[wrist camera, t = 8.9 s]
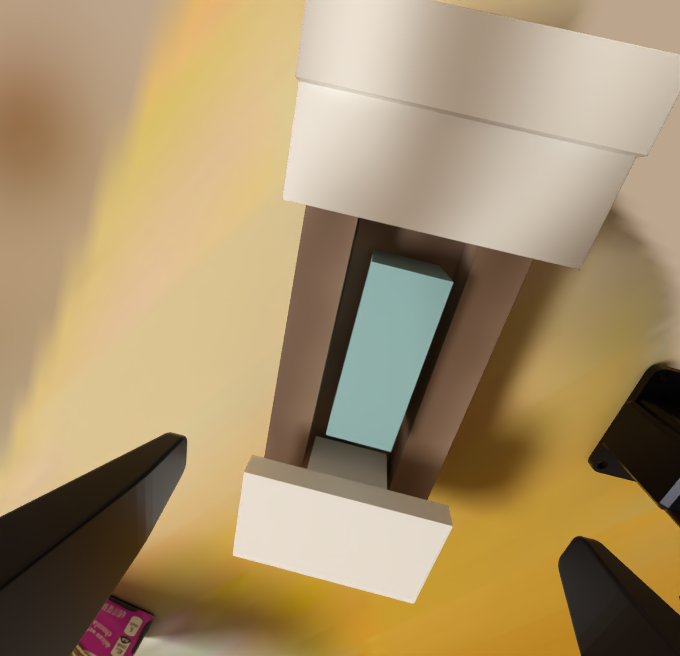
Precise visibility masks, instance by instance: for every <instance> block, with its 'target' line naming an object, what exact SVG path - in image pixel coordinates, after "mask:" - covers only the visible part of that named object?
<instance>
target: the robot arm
mask: <svg viewBox="0 0 680 656" xmlns="http://www.w3.org/2000/svg"><path fill="white" fill-rule="evenodd" d="M660 374H662V375H661V376H660V377H659V378H657V376H659V375H660ZM656 378H657V379H656ZM186 455H187V438H186V437H185V436H183V435H179V434H175V433H171V432H169V433H166V434H163V435H161V436H159V437H157V438H156V439H154V440H152V441H150V442H148V443H146V444H144V445H142V446H140V447H138V448H136V449H134V450H132V451H130V452H128V453H126V454H124V455H122V456H120V457H118V458H116V459H114V460H112V461H110V462H108V463H106V464H104V465H102V466H100V467H98V468H96V469H94V470H92V471H90V472H88V473H86V474H84V475H82V476H80V477H78V478H76V479H74V480H72V481H70V482H68V483H66V484H64V485H62V486H60V487H58V488H57V489H55V490H53V491H51V492H49V493H47V494H45V495H43V496H41V497H39V498H37V499H35V500H33V501H31V502H29V503H27V504H25V505H23V506H21V507H19V508H17V509H15V510H13V511H11V512H9V513H7V514H5V515H3V516H1V517H0V656H70V655H71V654H72V652H73V651H74V649H75V648H76V646H77V645H78V643H79V642H80V640H81V639H82V637H83V636H84V634H85V633H86V631H87V630H88V628H89V627H90V625H91V624H92V622H93V621H94V619H95V618H96V616H97V615H98V613H99V612H100V610H101V609H102V607H103V606H104V604H105V603H106V601H107V600H108V598H109V597H110V595H111V594H112V592H113V591H114V589H115V588H116V586H117V585H118V583H119V582H120V580H121V579H122V577H123V576H124V574H125V573H126V571H127V570H128V568H129V567H130V565H131V564H132V562H133V561H134V559H135V558H136V556H137V555H138V553H139V551H140V550H141V548H142V547H143V545H144V544H145V542H146V540H147V539H148V537H149V535H150V533H151V532H152V530H153V528H154V526H155V524H156V522H157V520H158V519H159V517H160V515H161V513H162V511H163V509H164V507H165V506H166V504H167V502H168V500H169V498H170V496H171V494H172V493H173V491H174V489H175V487H176V485H177V483H178V481H179V480H180V478H181V476H182V474H183V472H184V469H185V466H186ZM600 462H601V463H600ZM588 463H589V464H590V466H591V467H592V468H593V469H594V470H595V471H596V472H599V473H603V474H607V475H611V476H615V477H619V478H623V479H627V480H631V481H635V482H637V483H638V484H639V485H640V487H641V488H642V489H643V490H644V491H645V492H646V493H647V494H648V496H649V497H650V498H651V499H652V500H653V501H654V502H655V503H656V505H657V506H658V507H659V508H661V509H663V510H665V512H666V513H667V514H668V515H669V516H670V517H671V518H672V519H673V521H674V522H675V523H676V524H677V525H678V526H679V527H680V370H678V369H674V368H670V367H666V366H662V365H656V366H652V367H651V368H649V369H648V370H647V371H646V372H645V373H644V375H643V376H642V378H641V379H640V381H639V382H638V384H637V385H636V387H635V389H634V390H633V392H632V393H631V395H630V396H629V398H628V399H627V401H626V402H625V404H624V405H623V407H622V408H621V410H620V411H619V413H618V414H617V416H616V417H615V419H614V420H613V422H612V423H611V425H610V427H609V428H608V430H607V431H606V433H605V434H604V436H603V437H602V439H601V440H600V442H599V443H598V445H597V446H596V448H595V449H594V451H593V452H592V454H591V455H590V457H589V459H588ZM558 567H559V573H560V577H561V581H562V585H563V589H564V592H565V596H566V600H567V604H568V608H569V612H570V616H571V620H572V623H573V627H574V631H575V635H576V639H577V643H578V646H579V650H580V653H581V656H680V615H679V614H678V613H677V612H676V611H674V610H673V609H672V608H671V607H670V606H669V605H668V604H667V603H666V602H665V601H664V600H662V599H661V598H660V597H659V596H658V595H657V594H656V593H655V592H654V591H653V590H652V589H650V588H649V587H648V586H647V585H646V584H645V583H644V582H643V581H642V580H641V579H640V578H638V577H637V576H636V575H635V574H634V573H633V572H632V571H631V570H630V569H629V568H628V567H626V566H625V565H624V564H623V563H622V562H621V561H620V560H619V559H618V558H617V557H616V556H614V555H613V554H612V553H611V552H610V551H609V550H608V549H607V548H606V547H605V546H604V545H602V544H601V543H600V542H598V541H596V540H594V539H590V538H586V537H582V536H577V537H575V538H574V539H573V540H572V541H571V543H570V544H569V545H568V547H567V548H566V550H565V551H564V552H563V554H562V555H561V557H560V558H559V563H558ZM679 598H680V596H679Z"/></svg>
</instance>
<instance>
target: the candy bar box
mask: <svg viewBox="0 0 680 656" xmlns="http://www.w3.org/2000/svg"><path fill="white" fill-rule="evenodd" d="M153 618H154V616H153V615H151V614H148V613H146V612H144V611H142V610H139V609H137V608H135V607H133V606H130V605H128V604H126V603H124V602H122V601H120V600H117V599H115V598H113V597H111V596H110V597H109V598H108V600H107V601H106V603H105V604H104V606H103V607H102V609H101V610H100V612H99V613H98V615H97V616H96V618H95V619H94V621H93V622H92V624H91V625H90V627H89V628H88V630H87V631H86V633H85V634H84V636H83V637H82V639H81V640H80V642H79V643H78V645H77V646H76V648H75V649H74V651H73V652H72V654H71V655H70V656H134V655H135V653H136V651H137V649H138V647H139V646H140V644H141V642H142V640H143V638H144V636H145V634H146V632H147V631H148V629H149V626H150V624H151V622H152V620H153Z"/></svg>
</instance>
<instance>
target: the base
mask: <svg viewBox="0 0 680 656" xmlns="http://www.w3.org/2000/svg"><path fill="white" fill-rule="evenodd" d="M296 78H297V79H298V80H299V85H298V92H297V99H296V107H295V114H294V121H293V128H292V135H291V143H290V150H289V157H288V164H287V171H286V178H285V186H284V193H283V200H287V201H292V202H296V203H300V204H304V205H306V209H305V215H304V221H303V227H302V233H301V239H300V245H299V251H298V257H297V263H296V269H295V275H294V281H293V287H292V293H291V299H290V305H289V311H288V317H287V323H286V329H285V335H284V342H283V348H282V354H281V360H280V366H279V372H278V378H277V384H276V390H275V396H274V402H273V408H272V414H271V420H270V426H269V432H268V438H267V444H266V450H265V456H264V458H266V459H270V460H274V461H278V462H282V463H285V464H289V465H293V466H297V467H301V468H305V469H307V467H308V463H309V460H310V456H311V452H312V449H313V445H314V441H315V438H316V436H318V437H322V438H326V439H330V440H334V441H338V442H342V443H346V444H349V445H353V446H357V447H361V448H365V449H369V450H373V451H377V452H381V453H385V454H387V490H390V491H394V492H398V493H401V494H405V495H409V496H413V497H417V498H421V499H425V500H427V499H428V497H429V494H430V492H431V490H432V488H433V485H434V483H435V481H436V479H437V476H438V474H439V472H440V469H441V467H442V465H443V463H444V460H445V458H446V456H447V454H448V451H449V449H450V447H451V445H452V442H453V440H454V438H455V435H456V433H457V431H458V429H459V426H460V424H461V422H462V420H463V417H464V415H465V413H466V410H467V408H468V406H469V404H470V401H471V399H472V397H473V395H474V392H475V390H476V388H477V386H478V383H479V381H480V379H481V376H482V374H483V372H484V370H485V367H486V365H487V363H488V361H489V358H490V356H491V354H492V351H493V349H494V347H495V345H496V342H497V340H498V338H499V336H500V333H501V331H502V329H503V327H504V324H505V322H506V320H507V317H508V315H509V313H510V311H511V308H512V306H513V304H514V302H515V299H516V297H517V295H518V292H519V290H520V288H521V286H522V283H523V281H524V279H525V277H526V274H527V272H528V270H529V268H530V265H531V263H532V261H533V259H537V260H541V261H545V262H549V263H554V264H558V265H562V266H566V267H570V268H575V269H579V270H580V268H581V266H582V264H583V263H584V261H585V259H586V257H587V255H588V253H589V251H590V249H591V247H592V245H593V243H594V241H595V239H596V237H597V235H598V233H599V231H600V229H601V227H602V225H603V223H604V221H605V219H606V217H607V215H608V213H609V211H610V209H611V207H612V205H613V203H614V201H615V199H616V197H617V195H618V193H619V191H620V189H621V186H622V184H623V182H624V181H625V179H626V177H627V175H628V173H629V171H630V169H631V166H632V165H633V163H634V161H635V159H636V157H643V156H647V155H648V154H649V152H650V150H651V148H652V146H653V144H654V142H655V140H656V138H657V136H658V134H659V132H660V130H661V128H662V126H663V124H664V122H665V121H666V119H667V117H668V115H669V112H670V111H671V109H672V107H673V105H674V103H675V101H676V99H677V97H678V95H679V93H680V54H676V53H671V52H667V51H662V50H658V49H653V48H648V47H643V46H639V45H635V44H630V43H625V42H620V41H616V40H612V39H607V38H602V37H598V36H593V35H589V34H584V33H579V32H575V31H570V30H566V29H561V28H556V27H552V26H547V25H543V24H538V23H533V22H529V21H524V20H520V19H515V18H510V17H506V16H501V15H497V14H492V13H487V12H483V11H478V10H474V9H469V8H464V7H460V6H455V5H451V4H446V3H441V2H437V1H432V0H306V2H305V9H304V17H303V24H302V31H301V39H300V46H299V54H298V61H297V68H296ZM374 249H375V250H379V251H383V252H387V253H391V254H395V255H399V256H403V257H407V258H411V259H415V260H419V261H423V262H427V263H431V264H435V265H439V266H441V268H442V269H443V270H444V271H445V272H446V274H447V275H448V276H449V277H450V279H451V280H452V281H453V285H452V288H451V290H450V293H449V296H448V299H447V301H446V304H445V307H444V309H443V312H442V315H441V317H440V320H439V323H438V326H437V328H436V331H435V334H434V336H433V339H432V342H431V344H430V347H429V350H428V353H427V355H426V358H425V361H424V363H423V366H422V369H421V371H420V374H419V377H418V380H417V382H416V385H415V388H414V390H413V393H412V396H411V398H410V401H409V404H408V407H407V409H406V412H405V415H404V417H403V420H402V423H401V425H400V428H399V431H398V434H397V436H396V439H395V442H394V444H393V447H392V450H391V452H389V451H385V450H381V449H378V448H374V447H370V446H366V445H363V444H359V443H355V442H351V441H347V440H344V439H340V438H336V437H332V436H329V435H326V432H327V427H328V423H329V419H330V415H331V410H332V406H333V402H334V398H335V394H336V390H337V386H338V383H339V379H340V375H341V371H342V367H343V364H344V360H345V356H346V352H347V348H348V345H349V341H350V337H351V333H352V329H353V326H354V322H355V318H356V314H357V311H358V307H359V303H360V299H361V295H362V292H363V288H364V284H365V280H366V276H367V273H368V269H369V265H370V261H371V258H372V254H373V250H374Z"/></svg>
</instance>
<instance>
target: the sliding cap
mask: <svg viewBox="0 0 680 656" xmlns="http://www.w3.org/2000/svg"><path fill="white" fill-rule="evenodd" d="M452 527H453V525H452V520H451V515H450V511H449V506H448V505H444V504H440V503H436V502H432V501H428V500H425V499H421V498H417V497H413V496H409V495H405V494H401V493H398V492H394V491H390V490H387V454H385V453H381V452H377V451H373V450H369V449H365V448H361V447H357V446H353V445H349V444H346V443H342V442H338V441H334V440H330V439H326V438H322V437H318V436H316V438H315V441H314V445H313V449H312V452H311V456H310V460H309V463H308V467H307V469H305V468H301V467H297V466H293V465H289V464H285V463H282V462H278V461H274V460H270V459H266V458H262V457H258V456H254V455H252V457H251V459H250V461H249V463H248V465H247V467H246V469H245V471H244V476H243V483H242V490H241V498H240V505H239V512H238V519H237V527H236V534H235V541H234V548H233V556H237V557H241V558H244V559H248V560H252V561H256V562H259V563H263V564H267V565H270V566H274V567H278V568H282V569H285V570H289V571H293V572H297V573H300V574H304V575H308V576H312V577H315V578H319V579H323V580H327V581H330V582H334V583H338V584H342V585H345V586H349V587H353V588H356V589H360V590H364V591H368V592H371V593H375V594H379V595H383V596H386V597H390V598H394V599H398V600H401V601H405V602H409V603H413V604H414V602H415V600H416V598H417V596H418V594H419V592H420V590H421V588H422V586H423V585H424V583H425V581H426V579H427V577H428V575H429V573H430V571H431V569H432V567H433V565H434V563H435V561H436V559H437V557H438V555H439V553H440V551H441V549H442V547H443V545H444V543H445V541H446V539H447V537H448V535H449V533H450V531H451V529H452Z"/></svg>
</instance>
